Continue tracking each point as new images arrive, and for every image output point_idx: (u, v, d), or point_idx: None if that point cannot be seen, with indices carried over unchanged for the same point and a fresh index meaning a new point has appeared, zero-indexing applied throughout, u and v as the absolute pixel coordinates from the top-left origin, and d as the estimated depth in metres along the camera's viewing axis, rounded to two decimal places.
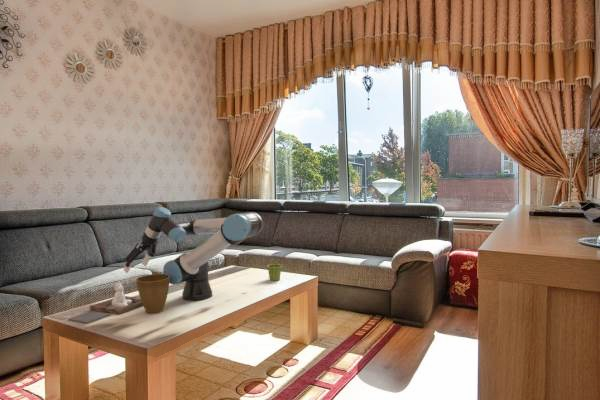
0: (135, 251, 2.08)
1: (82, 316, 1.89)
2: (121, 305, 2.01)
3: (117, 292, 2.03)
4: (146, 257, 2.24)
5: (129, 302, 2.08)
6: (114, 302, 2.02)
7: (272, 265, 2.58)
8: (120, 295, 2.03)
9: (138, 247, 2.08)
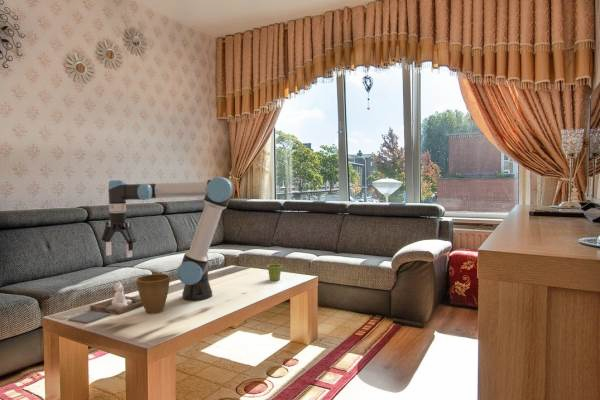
0: (130, 229, 2.01)
1: (82, 316, 1.89)
2: (121, 305, 2.01)
3: (117, 292, 2.03)
4: (108, 245, 2.06)
5: (129, 302, 2.08)
6: (114, 302, 2.02)
7: (272, 265, 2.58)
8: (120, 295, 2.03)
9: (129, 224, 2.01)
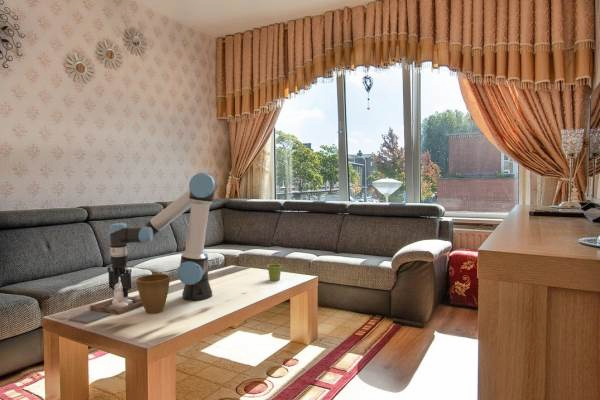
0: (129, 276, 2.02)
1: (82, 316, 1.89)
2: (121, 305, 2.01)
3: (117, 292, 2.03)
4: None
5: (129, 302, 2.08)
6: (114, 302, 2.02)
7: (272, 265, 2.58)
8: (120, 295, 2.03)
9: (130, 271, 2.02)
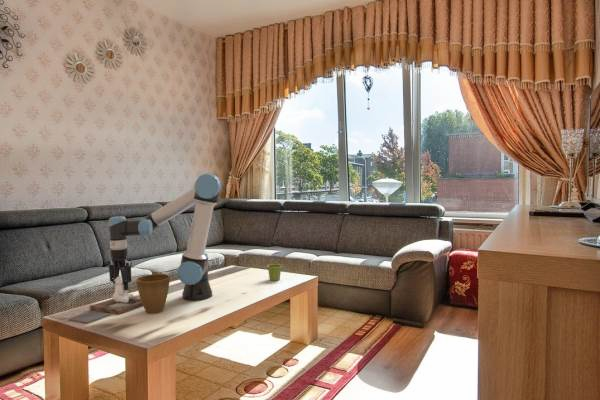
0: (129, 269, 2.02)
1: (82, 316, 1.89)
2: (121, 299, 2.00)
3: (118, 286, 2.03)
4: None
5: (131, 296, 2.07)
6: (115, 296, 2.02)
7: (272, 265, 2.58)
8: (121, 289, 2.02)
9: (130, 264, 2.02)
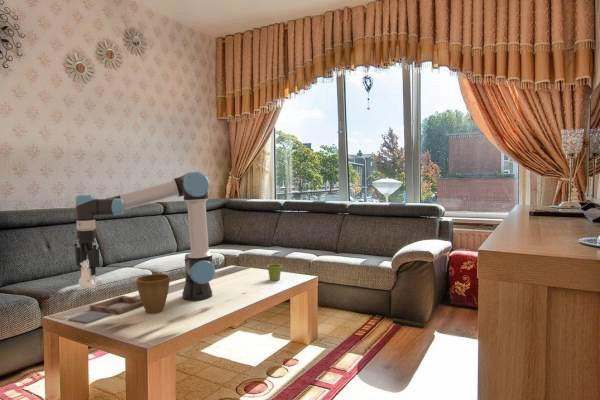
0: (97, 252, 1.86)
1: (82, 316, 1.89)
2: (87, 284, 1.84)
3: (84, 270, 1.86)
4: None
5: (99, 282, 1.91)
6: (81, 281, 1.85)
7: (272, 265, 2.58)
8: (87, 273, 1.86)
9: (98, 247, 1.85)
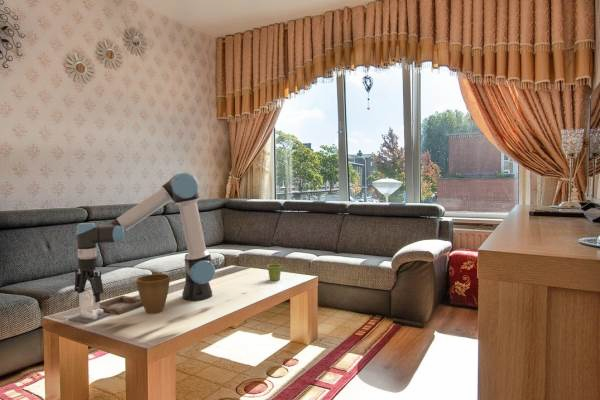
0: (100, 279, 1.86)
1: None
2: (89, 315, 1.85)
3: (86, 301, 1.87)
4: (82, 296, 1.90)
5: (100, 312, 1.91)
6: (82, 311, 1.86)
7: (272, 265, 2.58)
8: (89, 304, 1.86)
9: (99, 273, 1.86)
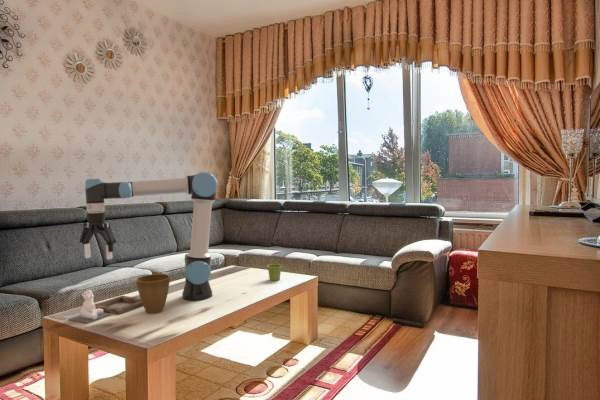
0: (110, 230, 1.91)
1: None
2: (89, 315, 1.85)
3: (86, 301, 1.87)
4: (87, 247, 1.96)
5: (100, 312, 1.91)
6: (82, 311, 1.86)
7: (272, 265, 2.58)
8: (89, 304, 1.86)
9: (108, 225, 1.91)
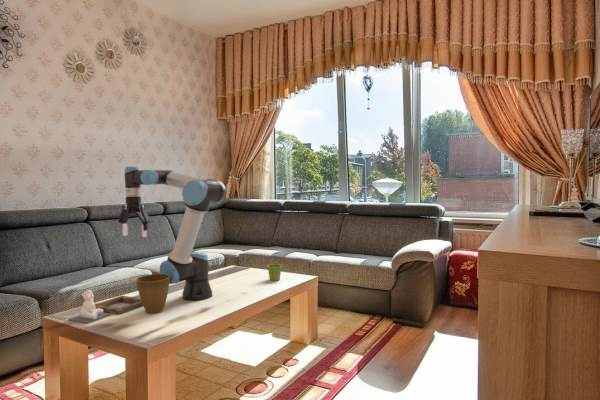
0: (145, 211, 2.20)
1: None
2: (89, 315, 1.85)
3: (86, 301, 1.87)
4: (124, 226, 2.25)
5: (100, 312, 1.91)
6: (82, 311, 1.86)
7: (272, 265, 2.58)
8: (89, 304, 1.86)
9: (144, 207, 2.20)
